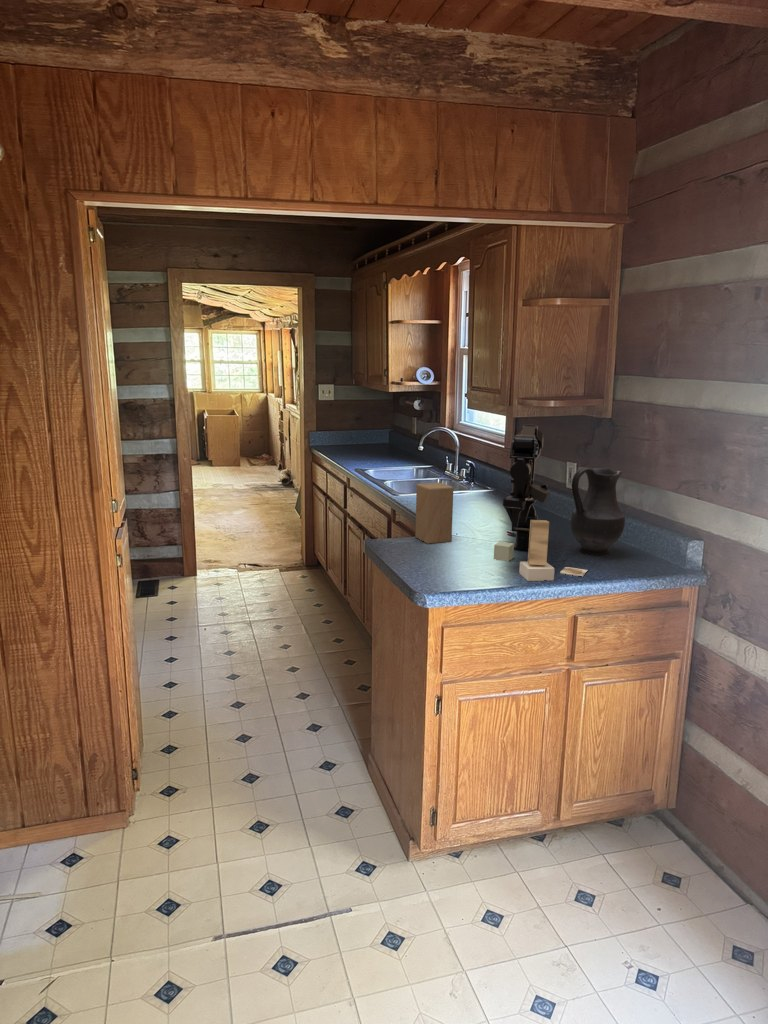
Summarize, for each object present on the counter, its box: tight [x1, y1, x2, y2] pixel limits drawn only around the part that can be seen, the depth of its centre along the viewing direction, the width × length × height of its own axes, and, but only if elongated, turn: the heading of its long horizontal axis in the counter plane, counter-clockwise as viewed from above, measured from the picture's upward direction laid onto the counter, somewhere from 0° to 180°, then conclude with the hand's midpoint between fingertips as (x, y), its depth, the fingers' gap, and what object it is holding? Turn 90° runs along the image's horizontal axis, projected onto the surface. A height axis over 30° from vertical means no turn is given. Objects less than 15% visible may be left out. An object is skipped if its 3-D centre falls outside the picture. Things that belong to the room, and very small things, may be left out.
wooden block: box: [414, 482, 454, 545], centre depth 257 cm, size 10×10×20 cm
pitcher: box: [570, 466, 626, 557], centre depth 240 cm, size 17×21×30 cm
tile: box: [559, 566, 588, 578], centre depth 222 cm, size 7×7×1 cm
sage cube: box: [493, 541, 515, 562], centre depth 235 cm, size 5×5×5 cm
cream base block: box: [518, 560, 555, 582], centre depth 217 cm, size 8×8×4 cm
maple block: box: [527, 519, 550, 565], centre depth 216 cm, size 5×5×13 cm
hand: (519, 524), depth 227 cm, fingers open, 9 cm apart
